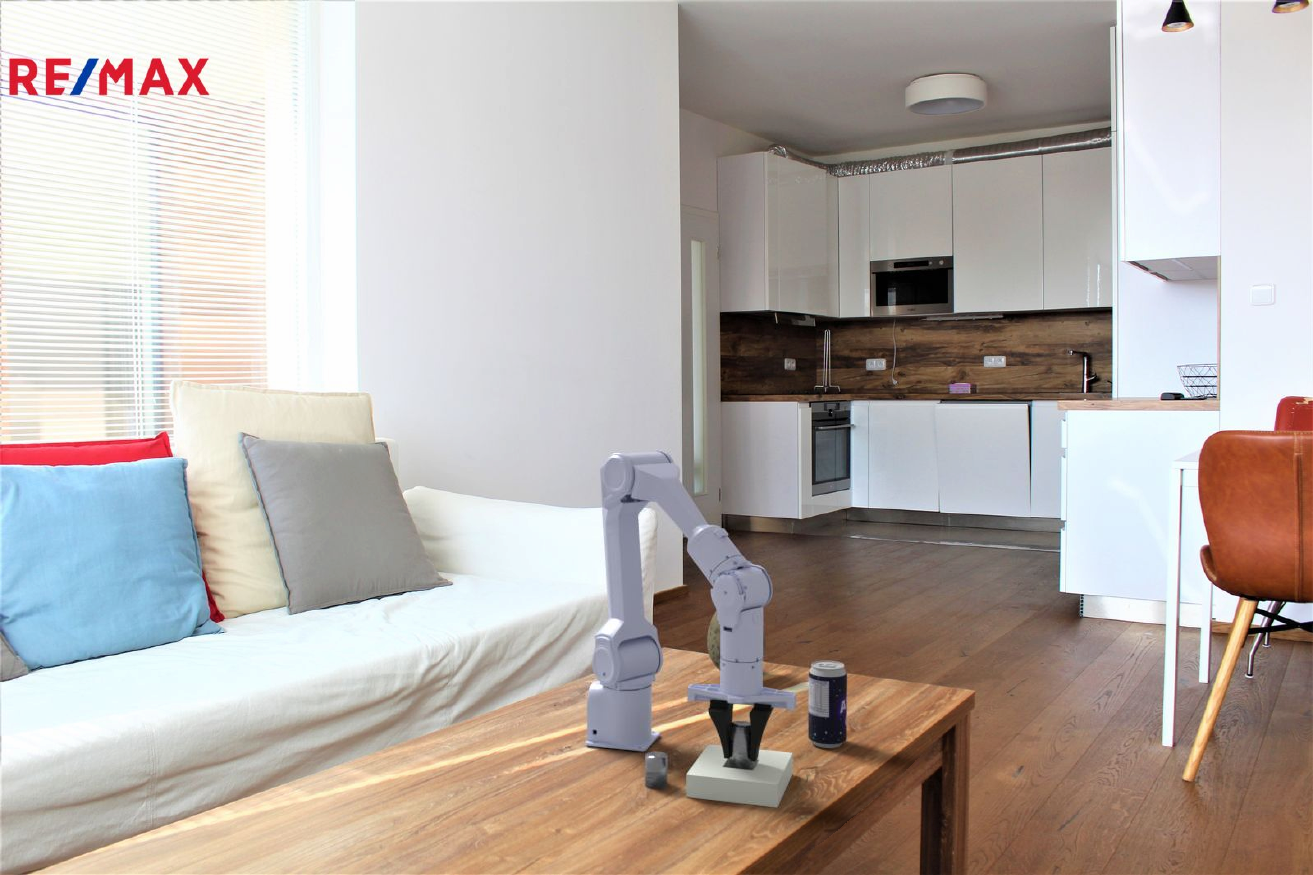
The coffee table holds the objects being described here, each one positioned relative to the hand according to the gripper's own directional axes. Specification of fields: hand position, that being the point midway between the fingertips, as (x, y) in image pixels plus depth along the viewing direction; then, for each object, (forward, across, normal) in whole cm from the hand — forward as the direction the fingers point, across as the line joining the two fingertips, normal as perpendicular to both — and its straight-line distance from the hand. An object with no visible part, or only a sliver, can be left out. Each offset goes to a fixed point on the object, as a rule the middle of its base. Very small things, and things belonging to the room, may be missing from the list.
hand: (741, 757), depth 139 cm
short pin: (+4, -11, -3) cm, 12 cm away
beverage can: (+4, +9, +20) cm, 22 cm away
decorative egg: (+4, -12, +52) cm, 54 cm away
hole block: (+4, 0, 0) cm, 4 cm away
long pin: (+2, 0, 0) cm, 3 cm away
